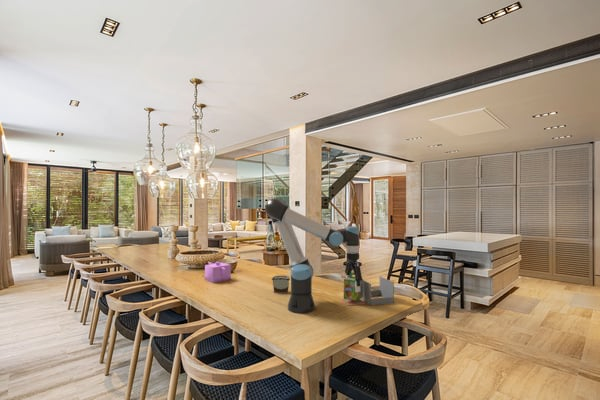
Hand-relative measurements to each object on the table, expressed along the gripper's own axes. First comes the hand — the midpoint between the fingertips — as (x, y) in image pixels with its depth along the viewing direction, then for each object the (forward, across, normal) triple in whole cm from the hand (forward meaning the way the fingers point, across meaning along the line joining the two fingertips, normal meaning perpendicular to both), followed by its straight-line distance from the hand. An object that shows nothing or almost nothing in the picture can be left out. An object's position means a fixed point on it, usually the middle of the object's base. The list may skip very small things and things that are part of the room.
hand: (353, 288), depth 177 cm
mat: (+8, 0, 0) cm, 8 cm away
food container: (+8, +33, +38) cm, 51 cm away
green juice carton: (+6, 0, 0) cm, 6 cm away
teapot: (+8, +79, +81) cm, 113 cm away
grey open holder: (+8, 0, -14) cm, 16 cm away
